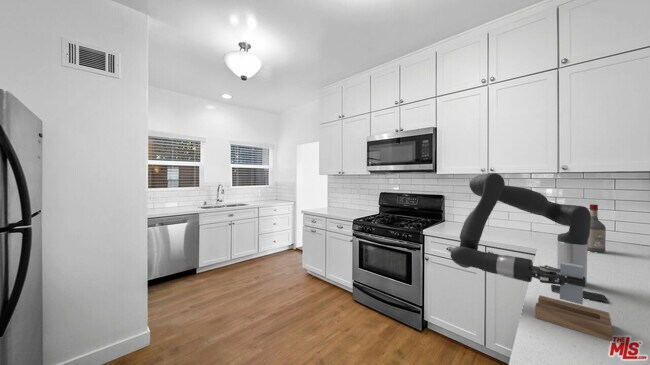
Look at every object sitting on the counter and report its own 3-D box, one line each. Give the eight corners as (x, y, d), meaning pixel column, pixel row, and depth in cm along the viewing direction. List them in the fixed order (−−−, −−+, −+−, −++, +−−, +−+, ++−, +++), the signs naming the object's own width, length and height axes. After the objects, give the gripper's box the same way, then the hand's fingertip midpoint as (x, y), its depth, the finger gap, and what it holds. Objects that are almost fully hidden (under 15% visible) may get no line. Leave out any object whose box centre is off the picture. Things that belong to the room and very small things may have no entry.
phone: (608, 301, 90) (551, 289, 100) (608, 305, 90) (551, 292, 100) (604, 294, 96) (550, 283, 106) (604, 297, 96) (550, 286, 106)
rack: (539, 305, 88) (539, 295, 88) (608, 324, 77) (608, 312, 77) (534, 317, 80) (535, 306, 80) (611, 340, 68) (612, 327, 68)
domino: (560, 296, 81) (560, 261, 81) (582, 302, 77) (583, 265, 77) (559, 298, 79) (560, 263, 79) (582, 304, 76) (583, 267, 76)
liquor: (608, 253, 159) (608, 205, 159) (590, 252, 161) (591, 204, 161) (595, 249, 168) (596, 204, 168) (579, 248, 170) (579, 203, 170)
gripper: (510, 260, 84) (585, 275, 71) (518, 253, 93) (585, 264, 81) (509, 283, 84) (585, 301, 71) (517, 273, 93) (585, 288, 81)
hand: (585, 281), depth 76 cm, fingers closed on domino, 2 cm apart
